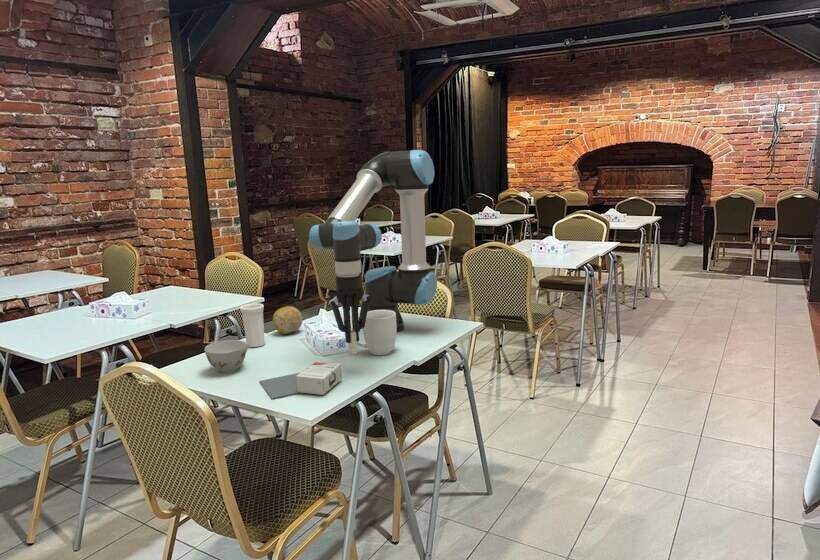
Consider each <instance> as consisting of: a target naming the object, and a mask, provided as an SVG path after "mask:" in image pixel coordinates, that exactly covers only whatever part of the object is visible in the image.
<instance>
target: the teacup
mask: <svg viewBox="0 0 820 560" xmlns="http://www.w3.org/2000/svg"><path fill="white" fill-rule="evenodd" d="M248 349H249V347H248V345H247V343H246V341H244V340H239V339H238V340H237V339H235V340H234V339H232V340H231V339H230V340H228V339H225V340H219V341H215V342H211V343H209V344H207V345H206V346H205V348H204V353H205V356H206V359H207V361H208V363H209V364H210V366H212V367H213V368H214V369H215V370H217V372H219V373H222V374H229V372H230V373H233V372H236V371H237V370H238V368H239V367H240V366H241V365H242V364H243V362H244V361H245V358H246V354H247V352H248Z"/></svg>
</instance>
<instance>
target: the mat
mask: <svg viewBox="0 0 820 560" xmlns="http://www.w3.org/2000/svg"><path fill="white" fill-rule="evenodd" d="M301 372H302V371H300V372H297V373H291V374H287V375H283V376H276V377H273V378H268V379H261V380H259V384H260V385H261V386H262V387H263V389H264V391H265V392H266V393H267V396H269V398H270V397H271V398H270V399H271V400H272V399H273V400H277V399H282V398H286V397H289V396H290V397H291V396H295V395H296V396H297V395H299V394H300V395H301V394H303V393H302V392H297V387H296V375H298V374H299V373H301ZM335 386H336V384H335V385H334V386H333V387H335ZM276 398H277V399H276Z"/></svg>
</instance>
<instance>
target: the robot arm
mask: <svg viewBox="0 0 820 560" xmlns="http://www.w3.org/2000/svg"><path fill="white" fill-rule="evenodd" d="M434 180H435V166H434V162H433V159H432V157H431V156H430V154H429V153H428V152H427V151H425V150H422V149H418V150H417V149H411V150H398V151H397V150H396V151H384V152H382V153H379V154H378V155H376V156H374V157H372V158H371V159H370V160H369V161H367V162H366V163H365V164H364V165H362V167H361V168H360V169H359V170H358V172H357V175H356V179H355V181H354V182H353V184H352V185H351V187H350V188H349V189H348V190H347V192H346V193H345V195H343V197H342V198H341V200H340V201H339V202H338V204H337V205H336V207H335V208H334V209H333V210H332V212H331V213H330V214H329V216H328V217H327V218H326V220H324V223H323V224H321V223H319V224H315V225H312V226H311V228H310V230H309V237H308V238H309V243H310V244H311V246H312V247H314V249H315V248H316V249H321V250H333V251H334V253H333V254H334V267H335V268H334V269H335V270H334V271H335V275H336V276H335V288H336V292H335V295H334V297H333V298H332V299H329V300H328V301H327V303H328V305H329V306H330V307H331V310H332V312H333V316H334V319H335V322H336V325H337V328H338V330H339V331H340V332H343V333H344V337H345V342H346V343H347V344H348V351H349V352H348V353H350V354H351V355H356V354H358V348H357V347H358V346H357V342H358V343H359V341H360V332H361V330H363V328H364V327H365V322H366V316H367V312H368V311H373V310H391V311H394V312H395V313H396V325H397V333H398V332H400V331H403V330H404V326H405V323H404V322H405V321H404V319H403V316H402V314H401V312H400V309H399V304H406V305H416V306H419V305H423V306H425V305H429V304H430V303H431V302H432V301H433V299H434V298H435V295H436V293H437V288H438V278H437V275H436V273H434V272H432V271H431V265H430V264H429V263H427V247H426V246H427V245H426V243H427V242H426V240H427V239H426V216H425V215H426V212H425V210H426V208H425V204H426V203H425V194H426V193H427V191H429V185H431V184H433V183H434ZM386 186H394V188H395V189H394V190H395V192H396V194H398V195H399V209H400V236H401V237H400V238H401V239H400V240H401V243H400V244H401V261H402V262H401V264H400V265H399V266H398V267H396V266H394V265H388V266H382V267H376V268H372V269H369V270H367V271H366V272H365V278H364V281H365V282H364V285H365V292H364V290H363V279H362V277H363V276H362V274H361V273H362V260H361V259H362V258H361V252H362V251H366V250H372V249H374V248H376V247H378V246H379V245H380V244H381V242H382V239H383V237H382V231H381V229H380V228H379V226H377V225H376V224H374V223H365V224H359V222H358V221H357V218H358V217H359V215H360V214H361V213H362V211H363V210H364V209H365V207H366V206H367V204H368V203H369V201H370V200H371V198H372V197H373V196H374V194H375V193H379V192H380V190H382V188H383V187H386ZM360 302H361V304H360ZM339 303H340V304H341V306H342V311H343V317H342V314H341V312H340V309H339V306H338V305H339ZM359 304H360V307H359ZM359 308H360V309H359ZM359 310H360V311H359ZM351 322H352V323H351ZM352 328H353V330H352Z"/></svg>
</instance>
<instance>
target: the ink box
mask: <svg viewBox="0 0 820 560" xmlns="http://www.w3.org/2000/svg"><path fill="white" fill-rule="evenodd" d="M300 372H301V373H300ZM300 372H298V373H299V374H298V375H296V387H297V392H302V393H301V394H311V395H313V394H314V395H322V396H323V395H326V393H327V392H328V391H330V390H331V389H332V388H334V387H335V386H336V385H337V384H338V383H339V382H341V380H343V370H342V364H341V363H334V362H316V361H315V362H313V363H312V364H311V365H309V366H308V367H306V368H305V369H304V370H301V371H300ZM334 385H335V386H334Z"/></svg>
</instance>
